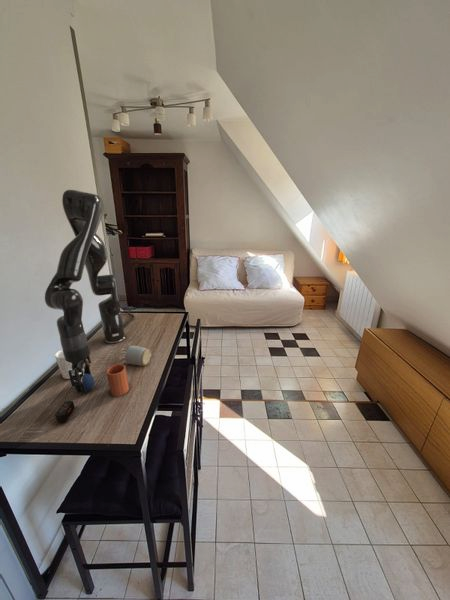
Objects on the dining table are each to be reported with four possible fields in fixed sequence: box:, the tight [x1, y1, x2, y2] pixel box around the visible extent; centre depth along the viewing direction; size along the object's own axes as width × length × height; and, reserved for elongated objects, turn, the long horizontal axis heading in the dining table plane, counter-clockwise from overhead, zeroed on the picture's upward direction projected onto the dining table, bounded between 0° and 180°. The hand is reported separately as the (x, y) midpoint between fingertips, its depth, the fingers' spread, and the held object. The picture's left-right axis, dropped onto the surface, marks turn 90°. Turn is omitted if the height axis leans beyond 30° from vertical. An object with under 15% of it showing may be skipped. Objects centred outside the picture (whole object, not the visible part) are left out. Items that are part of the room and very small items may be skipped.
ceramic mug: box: [124, 345, 152, 367], centre depth 106 cm, size 11×8×8 cm
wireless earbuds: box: [54, 400, 76, 424], centre depth 79 cm, size 5×7×3 cm, turn 6°
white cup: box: [54, 348, 81, 380], centre depth 98 cm, size 8×8×10 cm
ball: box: [74, 374, 95, 393], centre depth 89 cm, size 6×6×6 cm
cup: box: [105, 363, 130, 397], centre depth 89 cm, size 6×6×9 cm
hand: (85, 384), depth 90 cm, fingers open, 8 cm apart
